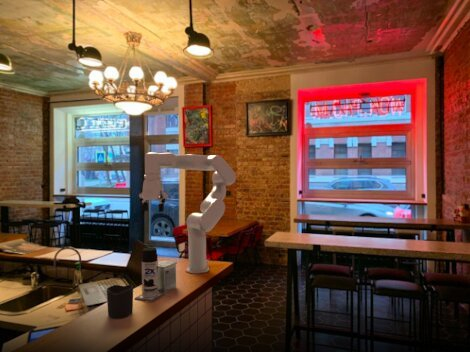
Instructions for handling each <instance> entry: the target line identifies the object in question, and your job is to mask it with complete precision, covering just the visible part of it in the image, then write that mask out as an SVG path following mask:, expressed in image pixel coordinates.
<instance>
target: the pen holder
mask: <svg viewBox="0 0 470 352" xmlns="http://www.w3.org/2000/svg"><path fill="white" fill-rule="evenodd" d="M106 296H107V297H106V298H107V299H106V300H107V301H106V302H107V314H108V317H109V318H110V319H115V320H120V319H125V318H127V317H130V316H131V315H132V314H133V309H134V308H133V306H134V305H133V304H134V285H133V284H127V285H120V284H119V285H118V284H114V285H111V286H109V287H107V288H106Z"/></svg>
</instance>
